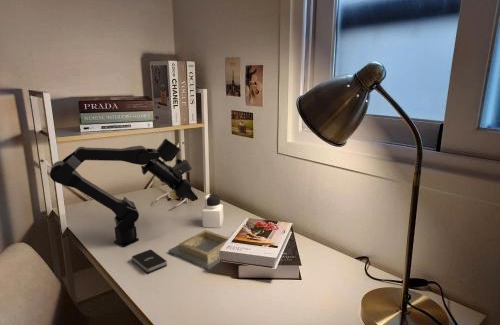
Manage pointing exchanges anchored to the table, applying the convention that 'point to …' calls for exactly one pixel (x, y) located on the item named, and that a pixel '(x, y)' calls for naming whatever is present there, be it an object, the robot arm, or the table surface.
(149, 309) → the table surface
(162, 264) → the external hard drive
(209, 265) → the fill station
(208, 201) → the medicine bottle
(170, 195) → the sunglasses
